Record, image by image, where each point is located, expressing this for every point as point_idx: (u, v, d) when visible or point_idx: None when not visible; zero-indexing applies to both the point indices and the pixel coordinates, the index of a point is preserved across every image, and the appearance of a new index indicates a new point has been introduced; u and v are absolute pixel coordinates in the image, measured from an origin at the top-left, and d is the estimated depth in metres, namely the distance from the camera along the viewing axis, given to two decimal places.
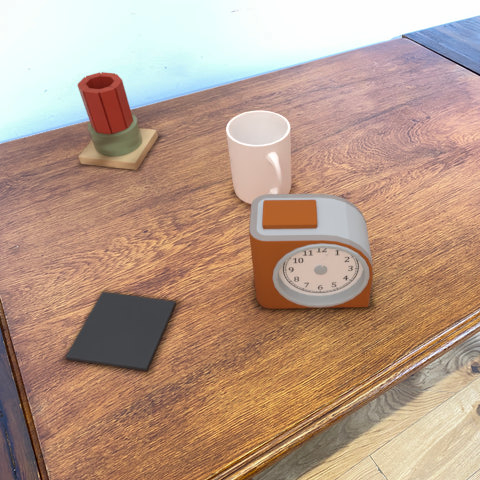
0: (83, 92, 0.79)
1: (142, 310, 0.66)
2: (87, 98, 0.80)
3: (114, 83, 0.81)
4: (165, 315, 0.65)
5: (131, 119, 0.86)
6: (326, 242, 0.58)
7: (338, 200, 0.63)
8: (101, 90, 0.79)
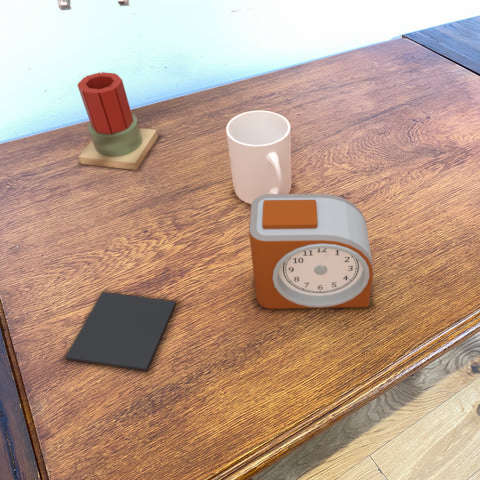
0: (83, 92, 0.79)
1: (142, 310, 0.66)
2: (87, 98, 0.80)
3: (114, 83, 0.81)
4: (165, 315, 0.65)
5: (131, 119, 0.86)
6: (326, 242, 0.58)
7: (338, 200, 0.63)
8: (101, 90, 0.79)
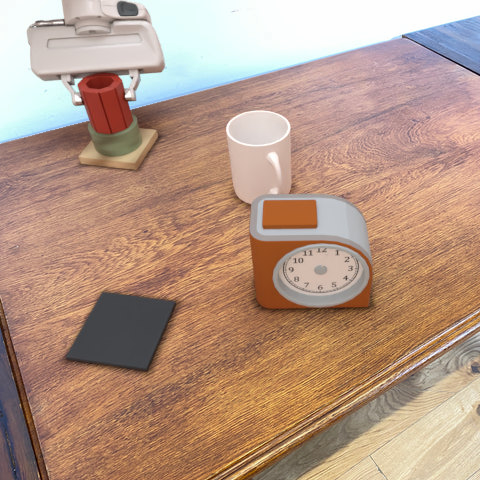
0: (83, 92, 0.79)
1: (142, 310, 0.66)
2: (87, 98, 0.80)
3: (114, 83, 0.81)
4: (165, 315, 0.65)
5: (131, 119, 0.86)
6: (326, 242, 0.58)
7: (338, 200, 0.63)
8: (101, 90, 0.79)
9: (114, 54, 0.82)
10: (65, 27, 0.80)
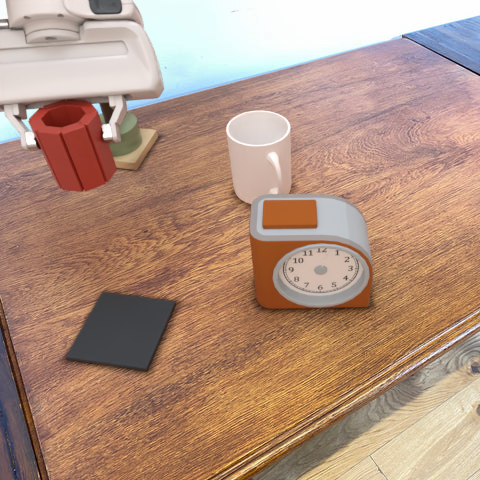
0: (36, 132, 0.51)
1: (142, 310, 0.66)
2: (43, 141, 0.52)
3: (85, 117, 0.53)
4: (165, 315, 0.65)
5: (113, 168, 0.58)
6: (326, 242, 0.58)
7: (338, 200, 0.63)
8: (64, 129, 0.51)
9: (86, 72, 0.53)
10: (9, 32, 0.52)
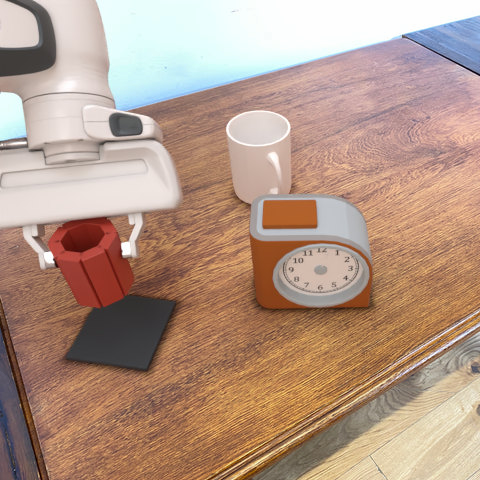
0: (56, 259, 0.50)
1: (142, 310, 0.66)
2: (62, 267, 0.51)
3: (105, 239, 0.52)
4: (165, 315, 0.65)
5: (132, 279, 0.57)
6: (326, 242, 0.58)
7: (338, 200, 0.63)
8: (84, 255, 0.50)
9: (106, 192, 0.53)
10: (29, 153, 0.52)
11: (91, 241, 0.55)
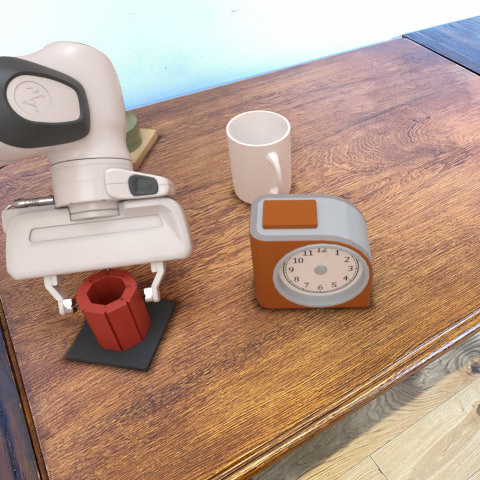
0: (83, 311, 0.56)
1: None
2: (89, 317, 0.57)
3: (126, 292, 0.58)
4: (165, 315, 0.65)
5: (148, 324, 0.63)
6: (326, 242, 0.58)
7: (338, 200, 0.63)
8: (108, 308, 0.56)
9: (125, 245, 0.58)
10: (55, 211, 0.57)
11: (112, 290, 0.62)
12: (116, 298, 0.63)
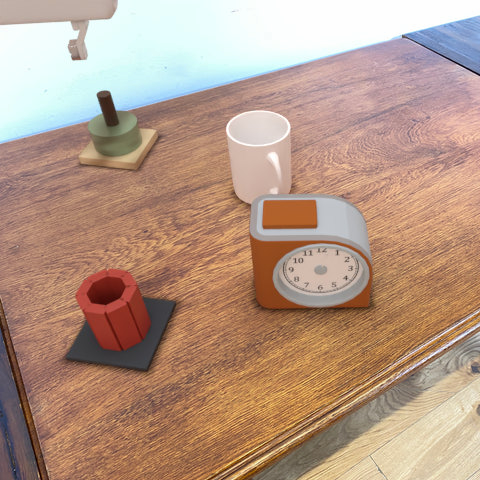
0: (83, 311, 0.56)
1: None
2: (89, 317, 0.57)
3: (126, 292, 0.58)
4: (165, 315, 0.65)
5: (148, 324, 0.63)
6: (326, 242, 0.58)
7: (338, 200, 0.63)
8: (108, 308, 0.56)
9: (36, 0, 0.51)
10: None
11: (112, 290, 0.62)
12: (116, 298, 0.63)
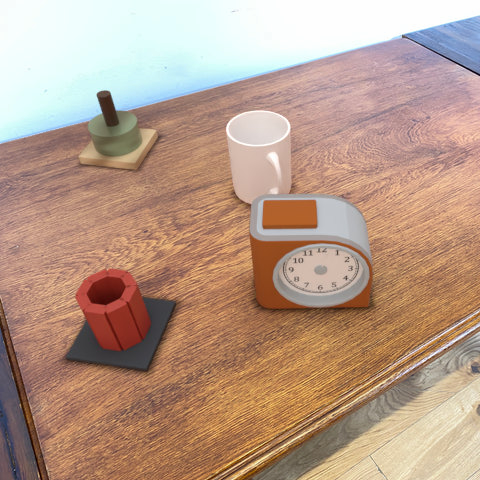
0: (83, 311, 0.56)
1: None
2: (89, 317, 0.57)
3: (126, 292, 0.58)
4: (165, 315, 0.65)
5: (148, 324, 0.63)
6: (326, 242, 0.58)
7: (338, 200, 0.63)
8: (108, 308, 0.56)
9: None
10: None
11: (112, 290, 0.62)
12: (116, 298, 0.63)
